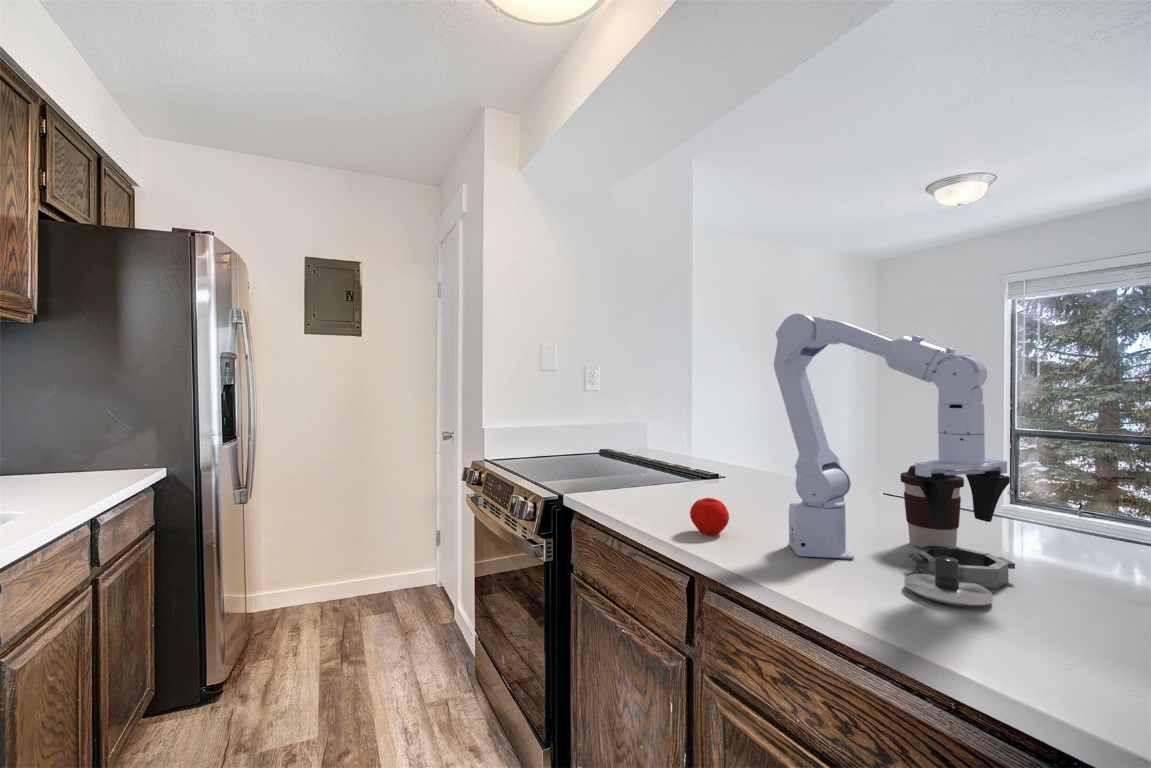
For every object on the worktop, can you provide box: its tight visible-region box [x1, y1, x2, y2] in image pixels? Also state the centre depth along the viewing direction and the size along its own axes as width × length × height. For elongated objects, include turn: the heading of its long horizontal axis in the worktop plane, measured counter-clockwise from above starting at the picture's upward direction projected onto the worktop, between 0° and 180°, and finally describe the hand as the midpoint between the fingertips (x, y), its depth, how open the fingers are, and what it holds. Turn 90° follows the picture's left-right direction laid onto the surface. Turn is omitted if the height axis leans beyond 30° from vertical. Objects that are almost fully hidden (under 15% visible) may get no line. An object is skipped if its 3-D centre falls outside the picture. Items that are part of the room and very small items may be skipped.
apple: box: [689, 497, 730, 536], centre depth 107 cm, size 8×8×7 cm
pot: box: [908, 546, 1016, 590], centre depth 82 cm, size 14×11×3 cm
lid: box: [903, 556, 994, 607], centre depth 75 cm, size 10×10×5 cm
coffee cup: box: [900, 464, 965, 549], centre depth 97 cm, size 10×10×15 cm
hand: (962, 521), depth 79 cm, fingers open, 7 cm apart
